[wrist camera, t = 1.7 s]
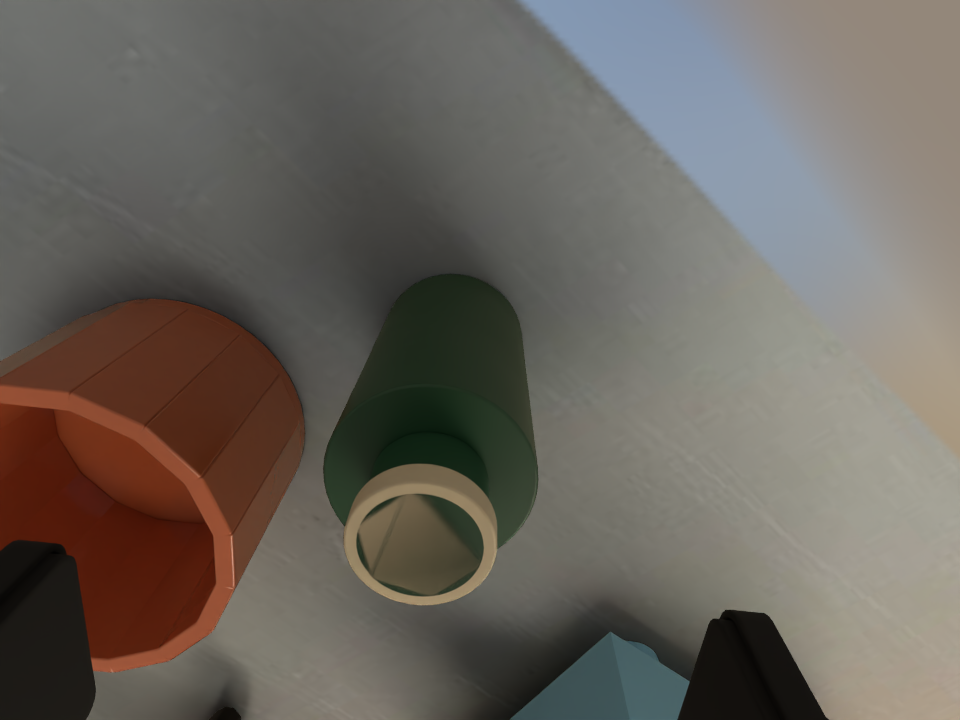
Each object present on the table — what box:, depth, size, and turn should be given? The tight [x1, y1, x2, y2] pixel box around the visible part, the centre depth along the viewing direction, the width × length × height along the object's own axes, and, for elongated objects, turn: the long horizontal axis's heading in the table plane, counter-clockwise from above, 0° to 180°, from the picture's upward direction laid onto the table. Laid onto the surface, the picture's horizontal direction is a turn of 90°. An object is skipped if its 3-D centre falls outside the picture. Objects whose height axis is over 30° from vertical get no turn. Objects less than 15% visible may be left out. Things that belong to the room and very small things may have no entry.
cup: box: [0, 299, 305, 673], centre depth 19 cm, size 9×9×6 cm
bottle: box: [323, 274, 538, 605], centre depth 16 cm, size 4×4×10 cm
